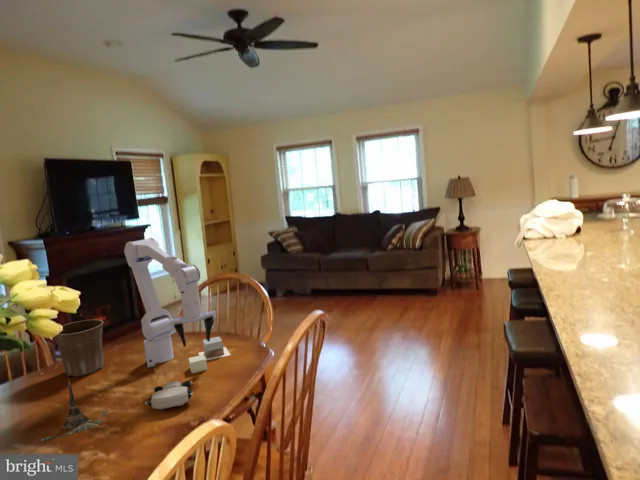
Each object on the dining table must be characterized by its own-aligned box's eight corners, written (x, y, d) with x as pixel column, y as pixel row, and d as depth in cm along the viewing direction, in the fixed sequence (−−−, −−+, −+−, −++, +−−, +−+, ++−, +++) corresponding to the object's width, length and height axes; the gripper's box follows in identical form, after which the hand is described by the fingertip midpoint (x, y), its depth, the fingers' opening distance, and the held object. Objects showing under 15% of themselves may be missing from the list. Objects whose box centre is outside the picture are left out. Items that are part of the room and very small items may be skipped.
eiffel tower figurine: (40, 444, 117) (30, 394, 116) (47, 425, 127) (39, 379, 125) (104, 427, 123) (96, 379, 121) (107, 411, 132) (99, 366, 130)
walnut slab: (207, 358, 162) (206, 351, 162) (204, 353, 168) (203, 346, 167) (224, 354, 164) (223, 347, 164) (221, 349, 170) (220, 342, 170)
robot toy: (153, 397, 139) (146, 417, 124) (151, 383, 139) (144, 401, 124) (195, 389, 142) (193, 408, 127) (193, 375, 142) (191, 392, 127)
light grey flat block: (206, 351, 162) (205, 344, 162) (203, 346, 167) (202, 339, 167) (223, 347, 164) (222, 340, 164) (220, 342, 170) (219, 336, 169)
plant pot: (115, 368, 163) (108, 324, 161) (63, 384, 154) (55, 337, 152) (104, 357, 176) (97, 316, 174) (56, 371, 167) (48, 328, 165)
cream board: (202, 363, 160) (202, 361, 160) (198, 354, 169) (198, 352, 169) (231, 357, 163) (230, 354, 163) (225, 348, 173) (225, 346, 173)
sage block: (192, 376, 150) (190, 362, 150) (190, 370, 155) (188, 358, 154) (207, 372, 152) (205, 359, 152) (205, 367, 157) (203, 354, 156)
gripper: (169, 310, 145) (175, 351, 146) (215, 301, 150) (221, 341, 152) (166, 305, 151) (172, 345, 153) (211, 296, 157) (216, 335, 159)
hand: (196, 343), depth 153 cm, fingers open, 7 cm apart
